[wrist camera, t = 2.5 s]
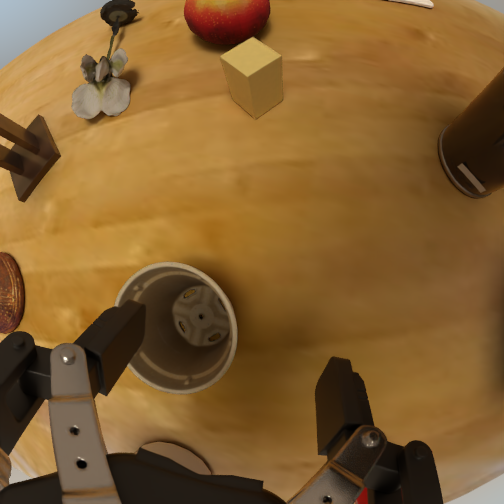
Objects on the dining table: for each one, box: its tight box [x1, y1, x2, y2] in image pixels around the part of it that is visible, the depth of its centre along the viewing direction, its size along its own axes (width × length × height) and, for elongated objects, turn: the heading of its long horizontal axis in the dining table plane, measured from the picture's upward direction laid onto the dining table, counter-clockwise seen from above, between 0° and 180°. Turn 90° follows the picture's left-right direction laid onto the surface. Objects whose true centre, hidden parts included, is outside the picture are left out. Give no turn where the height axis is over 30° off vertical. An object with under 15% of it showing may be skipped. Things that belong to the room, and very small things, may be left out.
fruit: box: [184, 0, 270, 45], centre depth 25 cm, size 11×11×10 cm
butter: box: [220, 37, 283, 119], centre depth 25 cm, size 4×4×8 cm
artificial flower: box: [72, 0, 139, 119], centre depth 28 cm, size 9×22×10 cm, turn 2°
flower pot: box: [114, 262, 238, 394], centre depth 23 cm, size 9×9×9 cm
